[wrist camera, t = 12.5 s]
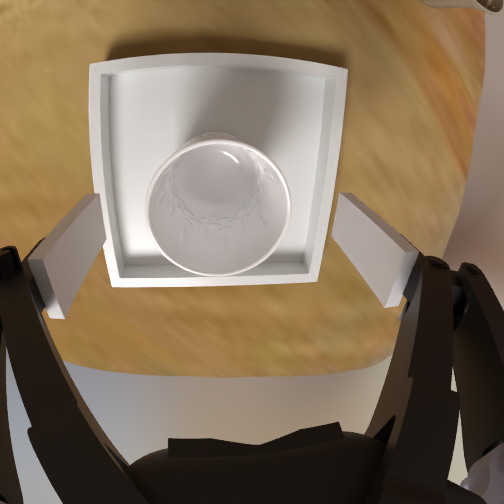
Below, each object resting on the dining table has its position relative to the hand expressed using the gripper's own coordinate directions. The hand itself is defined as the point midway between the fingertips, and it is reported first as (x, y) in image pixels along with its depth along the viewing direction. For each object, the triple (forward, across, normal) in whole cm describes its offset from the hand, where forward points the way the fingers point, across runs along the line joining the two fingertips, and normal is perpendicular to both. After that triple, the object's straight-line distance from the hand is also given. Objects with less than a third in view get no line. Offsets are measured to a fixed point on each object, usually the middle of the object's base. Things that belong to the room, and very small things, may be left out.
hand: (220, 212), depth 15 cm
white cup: (+10, 0, 0) cm, 10 cm away
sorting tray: (+11, 0, 0) cm, 11 cm away
